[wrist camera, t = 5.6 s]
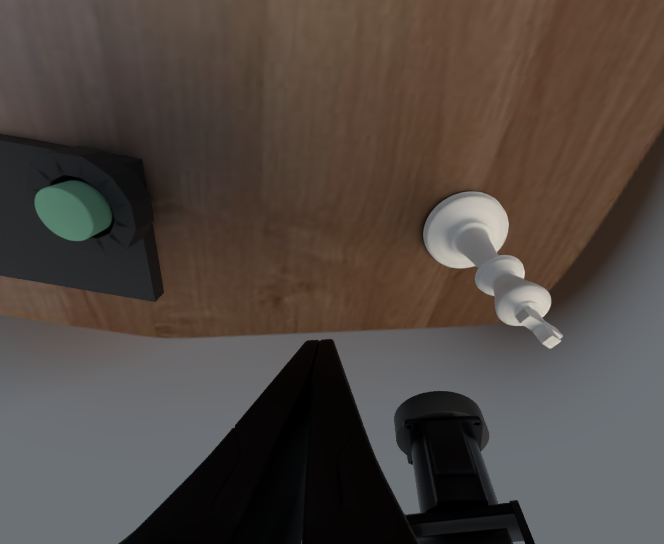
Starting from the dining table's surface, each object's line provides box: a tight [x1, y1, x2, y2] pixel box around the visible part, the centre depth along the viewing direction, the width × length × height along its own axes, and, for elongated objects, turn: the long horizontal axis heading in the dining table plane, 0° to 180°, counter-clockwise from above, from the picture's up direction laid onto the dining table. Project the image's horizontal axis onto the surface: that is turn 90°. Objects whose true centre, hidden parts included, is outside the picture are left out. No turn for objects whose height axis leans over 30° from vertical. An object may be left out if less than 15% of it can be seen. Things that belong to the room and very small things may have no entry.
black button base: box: [0, 134, 164, 302], centre depth 19 cm, size 14×10×3 cm
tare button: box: [35, 180, 112, 241], centre depth 16 cm, size 3×3×2 cm
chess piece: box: [423, 191, 563, 348], centre depth 15 cm, size 5×5×10 cm
